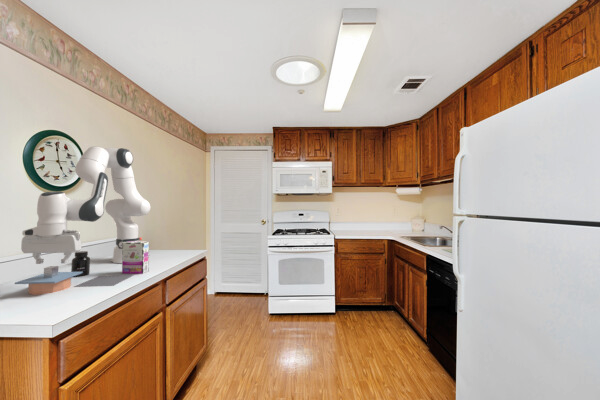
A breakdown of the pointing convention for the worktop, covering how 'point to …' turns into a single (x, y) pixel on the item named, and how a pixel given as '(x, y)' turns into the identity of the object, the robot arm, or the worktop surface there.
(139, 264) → the candy bar box
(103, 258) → the worktop surface
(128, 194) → the robot arm
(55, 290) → the bowl
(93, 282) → the mat
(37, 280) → the cover sheet
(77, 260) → the supplement bottle
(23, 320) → the worktop surface
